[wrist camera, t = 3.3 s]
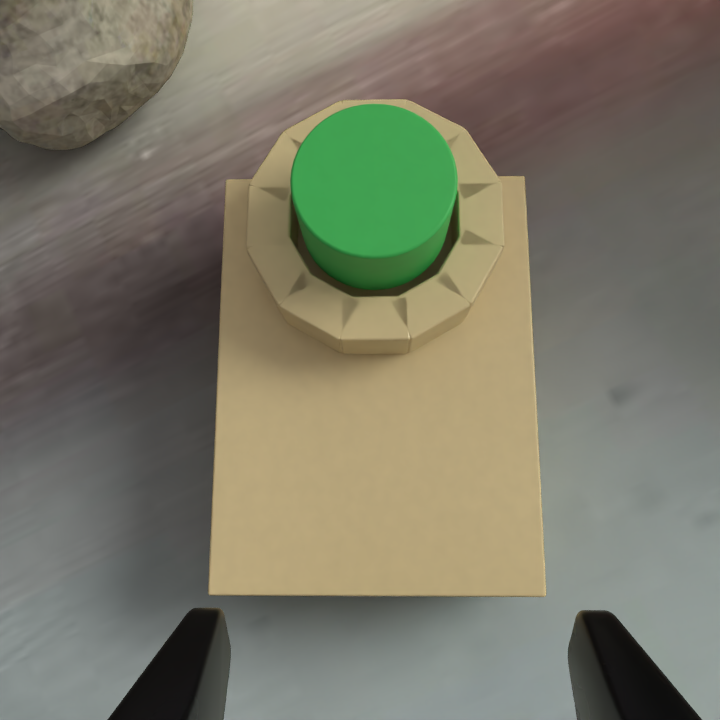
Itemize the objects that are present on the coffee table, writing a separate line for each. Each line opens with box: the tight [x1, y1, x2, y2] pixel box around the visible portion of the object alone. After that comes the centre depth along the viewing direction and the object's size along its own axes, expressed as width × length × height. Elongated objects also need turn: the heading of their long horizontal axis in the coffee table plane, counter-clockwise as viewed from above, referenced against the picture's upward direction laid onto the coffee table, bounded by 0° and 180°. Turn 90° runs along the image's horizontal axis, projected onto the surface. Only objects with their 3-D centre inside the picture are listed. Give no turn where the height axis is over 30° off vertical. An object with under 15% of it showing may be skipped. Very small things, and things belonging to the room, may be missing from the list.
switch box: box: [208, 99, 546, 597], centre depth 20 cm, size 13×9×6 cm
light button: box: [290, 104, 458, 290], centre depth 17 cm, size 4×4×2 cm
